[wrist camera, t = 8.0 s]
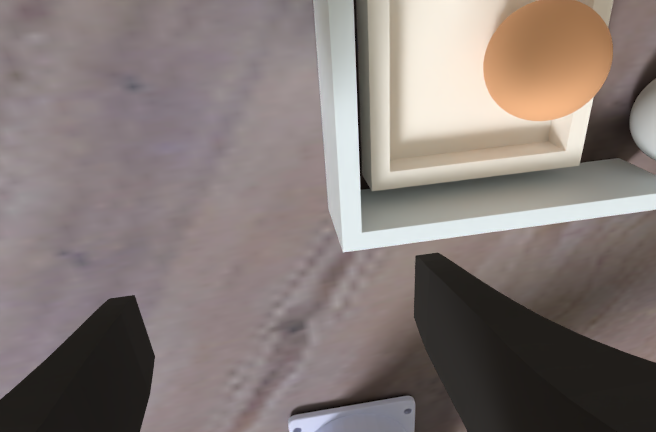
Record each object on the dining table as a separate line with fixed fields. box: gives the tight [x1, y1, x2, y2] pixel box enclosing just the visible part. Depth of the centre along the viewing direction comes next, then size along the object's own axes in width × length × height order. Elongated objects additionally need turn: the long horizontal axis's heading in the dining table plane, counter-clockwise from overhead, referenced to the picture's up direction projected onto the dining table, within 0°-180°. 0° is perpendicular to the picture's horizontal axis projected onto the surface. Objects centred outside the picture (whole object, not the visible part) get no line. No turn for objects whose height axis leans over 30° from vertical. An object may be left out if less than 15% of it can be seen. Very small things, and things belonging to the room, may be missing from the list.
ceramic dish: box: [356, 0, 614, 191], centre depth 19 cm, size 10×10×2 cm
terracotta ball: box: [483, 0, 613, 121], centre depth 17 cm, size 4×4×4 cm
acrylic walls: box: [313, 0, 656, 252], centre depth 18 cm, size 11×15×4 cm
